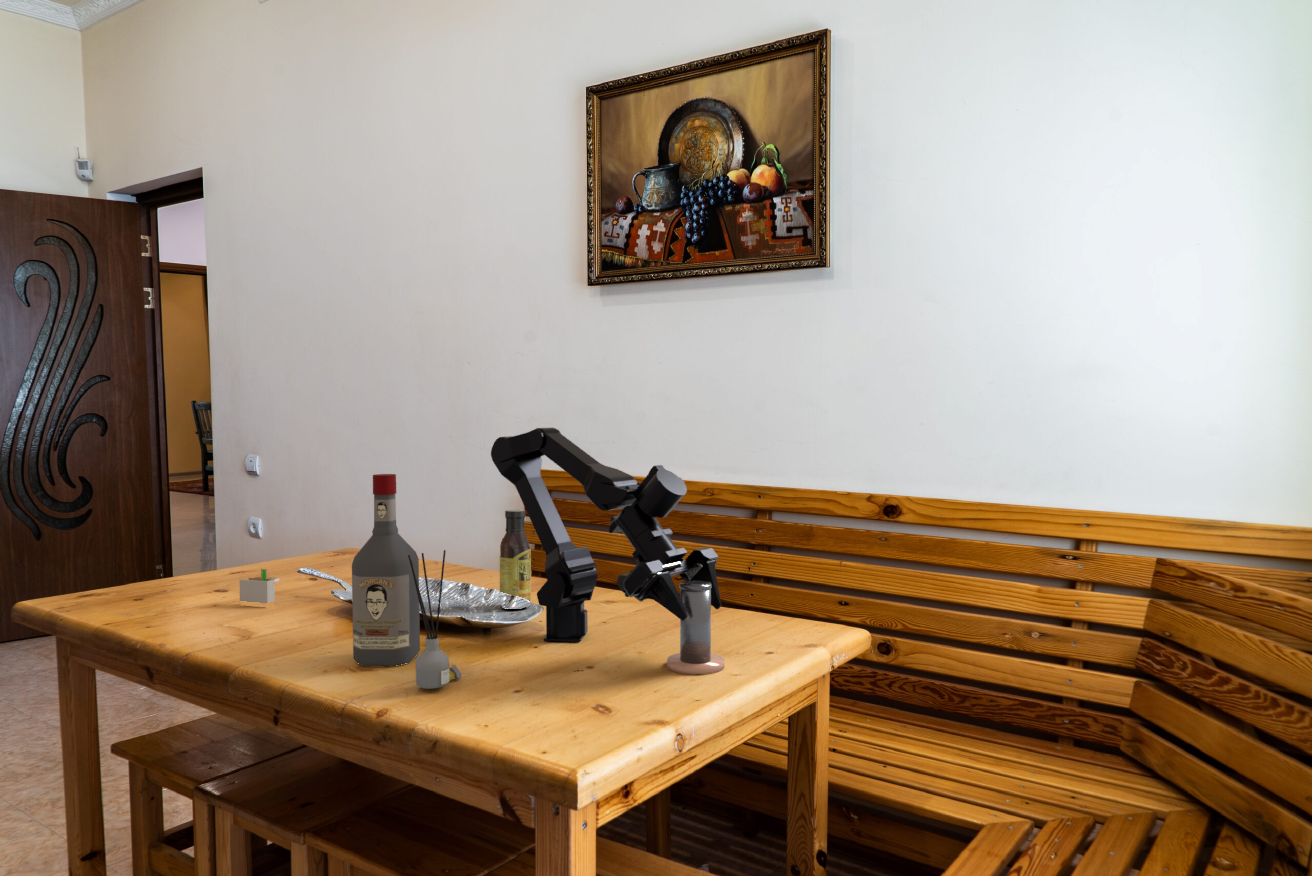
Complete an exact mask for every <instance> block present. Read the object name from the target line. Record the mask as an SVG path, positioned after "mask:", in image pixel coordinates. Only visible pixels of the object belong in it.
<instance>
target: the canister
mask: <svg viewBox="0 0 1312 876" xmlns="http://www.w3.org/2000/svg"><path fill="white" fill-rule="evenodd" d="M711 588H712V584H711V583H710V582H706V581H685V580H684V581H680V582H679V590H680V591H679V592H680V593H679V596H680V598H681V601H682V603H683V605H684V607H685V610H686V613H687V618H686V619H685V620H683V621H682V620H681V619H679V620H680V622H679V624H680V625H679V630H680V631H679V653H680V660H681V661H682V662H684V663H689V664H703V663H707V662H709V661H711V653H712V640H711V639H712V634H711V633H712V629H711V628H712V624H711V623H712V605H711Z"/></svg>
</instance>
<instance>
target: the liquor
mask: <svg viewBox="0 0 1312 876" xmlns="http://www.w3.org/2000/svg"><path fill="white" fill-rule="evenodd" d="M396 494H397V474H395V473H380V474H376V473H375V474H372V495H373V529H372V535H371V536H370V538H368V539H367V541H366V542H365V543H364V545H363V546H362V548H360V549H359V551H358V552H357V553H356V554H355V556H354V558H353V560H352V563H351V589H352V591H351V593H352V597H351V599H352V600H351V601H352V603H351V604H352V605H351V606H352V649H353V650H352V655H353V656H352V657H353V660H354V661H355V663H356V662H357V663H359V664H361V665H363V666H396V665H400V666H402V665H401V664H405V663H408V664H410V663H411V662H410V661H411V660H412V659H413V658H414V657H415V656H416V655H417V656H418V654H419V652H420V650H421V643H420V642H421V637H420V636H421V635H420V634H421V631H420V630H421V629H420V627H421V625H420V623H421V622H420V603H419V599H418V595H417V590H416V586H415V582H414V577H413V573H412V569H411V565H410V561H409V557H408V555H410V558H411V560H412V564H413V568H414V572H415V576H416V579H417V583H418V586H419V587H420V563H419V557H418V554H417V551H415V549H414V548H413V547H412V546H411V545H410V544H409V543H408V542H407V541H406V540H405V539H404V538H403V537H402V536H401V534H400V533H399V528H398V526H397V510H396V509H397V506H396V504H397V503H396V499H397V498H396ZM417 656H416V657H417ZM416 657H415V658H416ZM415 658H414V659H415ZM414 659H413V660H414ZM413 660H412V661H413ZM357 663H356V664H357ZM359 664H358V665H359ZM361 665H360V666H361ZM405 665H406V664H405ZM363 666H362V667H363ZM396 667H397V666H396Z"/></svg>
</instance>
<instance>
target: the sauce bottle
mask: <svg viewBox="0 0 1312 876" xmlns="http://www.w3.org/2000/svg"><path fill="white" fill-rule="evenodd" d="M504 516H505V534H504V536H503V538H502V539H501V542H500V544H499V545H500V548H499V550H500V551H499V553H500V555H499V593H500V592H503V593H507V594H511V595H513V596H519V597H522V598H525V599H527V600H529V601H530V602H531V599H532V596H531V594H532V593H531V591H532V583H531V582H532V572H531V571H532V563H531V561H532V558H531V557H532V552H531V551H532V549H531V546H530V543H529V539H528V537H527V534H526V528H525V518H526V509H506V510H504Z"/></svg>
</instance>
